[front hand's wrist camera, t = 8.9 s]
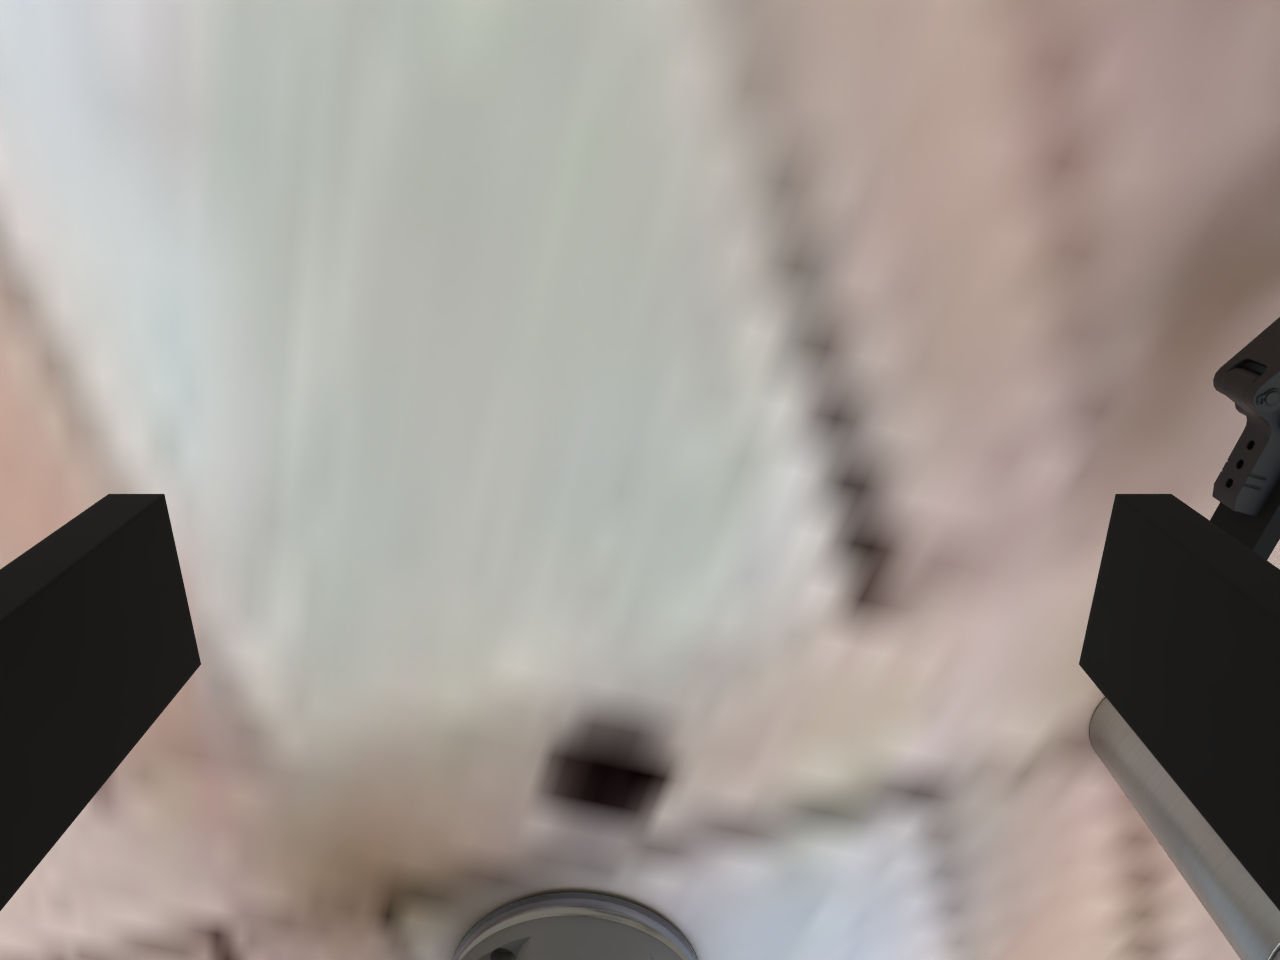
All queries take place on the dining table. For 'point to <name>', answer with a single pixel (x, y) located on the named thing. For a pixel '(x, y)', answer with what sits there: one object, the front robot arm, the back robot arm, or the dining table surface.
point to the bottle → (1188, 840)
